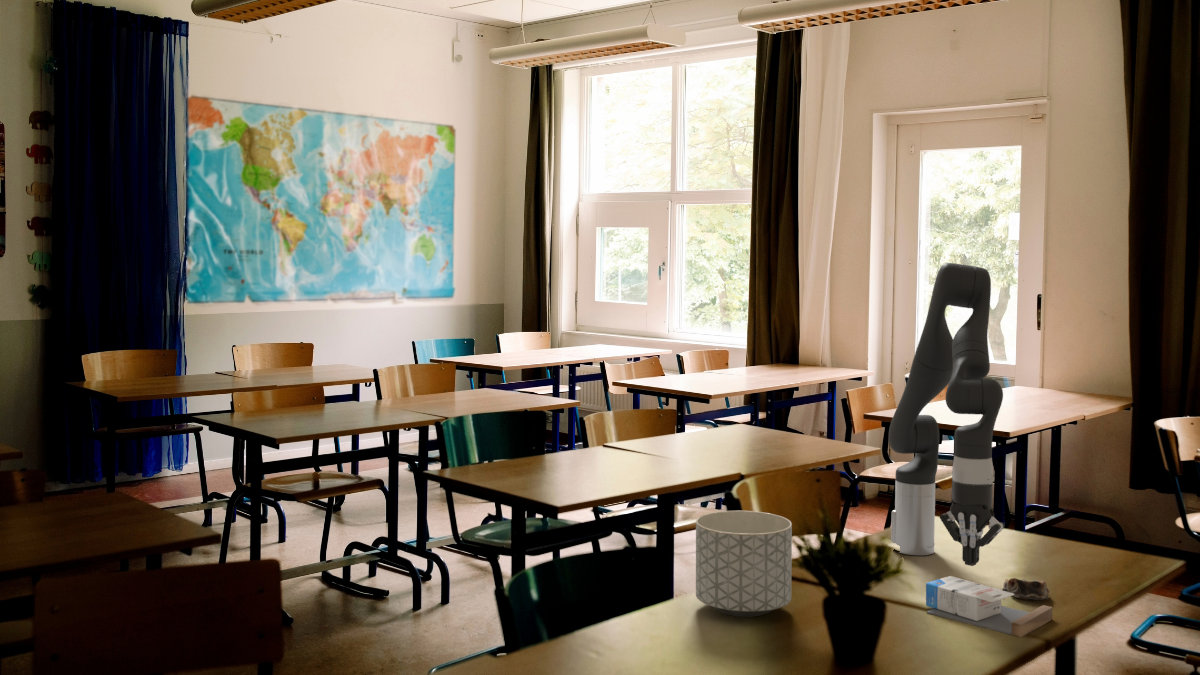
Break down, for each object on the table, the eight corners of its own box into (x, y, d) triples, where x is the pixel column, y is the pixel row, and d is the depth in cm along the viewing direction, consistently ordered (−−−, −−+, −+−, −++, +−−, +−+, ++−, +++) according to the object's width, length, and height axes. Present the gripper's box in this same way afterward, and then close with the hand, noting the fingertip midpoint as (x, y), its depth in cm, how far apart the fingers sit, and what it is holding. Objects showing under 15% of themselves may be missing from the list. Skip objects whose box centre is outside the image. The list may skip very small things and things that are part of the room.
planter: (802, 625, 194) (803, 532, 193) (704, 628, 193) (704, 535, 192) (778, 594, 213) (778, 509, 212) (688, 596, 212) (689, 511, 210)
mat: (927, 612, 201) (927, 611, 201) (960, 597, 211) (960, 595, 210) (1010, 634, 189) (1010, 633, 189) (1042, 616, 198) (1042, 615, 198)
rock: (1056, 604, 207) (1041, 580, 216) (1051, 579, 205) (1036, 556, 215) (1012, 612, 208) (1000, 588, 218) (1007, 587, 207) (994, 564, 217)
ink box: (925, 606, 204) (990, 627, 192) (925, 582, 203) (990, 601, 192) (950, 598, 209) (1015, 617, 197) (950, 574, 208) (1016, 592, 197)
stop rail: (1011, 634, 189) (1011, 622, 188) (1043, 617, 198) (1043, 605, 198) (1021, 637, 187) (1021, 624, 187) (1052, 619, 197) (1052, 607, 197)
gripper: (932, 476, 202) (930, 561, 203) (996, 486, 193) (994, 575, 194) (950, 471, 207) (948, 554, 208) (1013, 481, 198) (1011, 567, 199)
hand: (970, 564), depth 201 cm, fingers closed
